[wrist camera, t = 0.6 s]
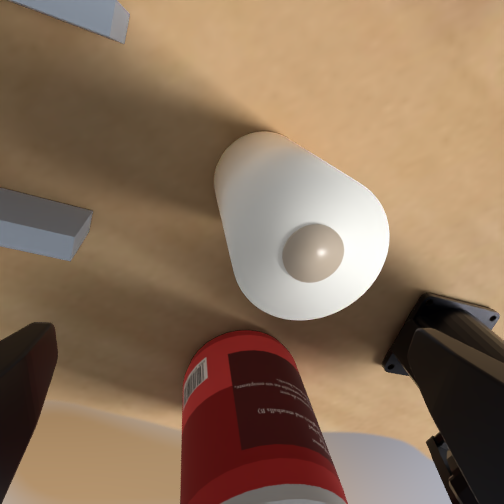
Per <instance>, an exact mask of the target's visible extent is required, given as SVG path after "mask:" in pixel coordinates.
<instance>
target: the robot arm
mask: <svg viewBox="0 0 504 504" xmlns="http://www.w3.org/2000/svg"><path fill="white" fill-rule="evenodd" d="M428 300H429V301H428ZM427 301H428V302H427ZM499 317H500V315H499V313H497V312H496V311H495V310H493V309H490V308H486V307H482V306H478V305H474V304H470V303H466V302H462V301H458V300H454V299H450V298H446V297H442V296H438V295H434V294H431V293H426V294H423V295H422V296H421V297H420V299H419V300H418V302H417V304H416V305H415V307H414V309H413V311H412V312H411V314H410V316H409V317H408V319H407V321H406V323H405V324H404V326H403V328H402V329H401V331H400V333H399V335H398V336H397V338H396V340H395V341H394V343H393V345H392V347H391V348H390V350H389V352H388V353H387V355H386V357H385V359H384V360H383V362H382V367H383V368H384V370H385V371H386V372H389V373H395V374H401V375H406V376H410V377H411V378H412V380H413V381H414V382H415V384H416V385H417V387H418V388H419V389H420V391H421V394H422V396H423V398H424V401H425V403H426V405H427V408H428V410H429V412H430V414H431V416H432V418H433V420H434V422H435V424H436V426H437V428H438V429H439V431H440V432H439V433H438V434H437V435H435V436H432V437H431V438H430V439H428V440H427V441H426V444H427V446H428V448H429V450H430V453H431V456H432V459H433V461H434V463H435V466H436V468H437V470H438V472H439V475H440V477H441V479H442V481H443V484H444V486H445V488H446V491H447V493H448V495H449V497H450V500H451V502H452V504H504V340H502V339H501V338H500V337H499V336H498V335H497V334H495V333H494V332H493V331H492V328H493V327H494V325H495V324H496V322H497V321H498V319H499ZM57 358H58V349H57V341H56V332H55V327H54V325H53V324H52V323H47V322H34V323H31V324H29V325H28V326H26V327H24V328H22V329H21V330H19V331H17V332H15V333H13V334H12V335H10V336H8V337H6V338H5V339H3V340H1V341H0V504H2V502H3V499H4V497H5V495H6V493H7V490H8V488H9V486H10V484H11V482H12V479H13V477H14V475H15V473H16V470H17V468H18V466H19V464H20V461H21V459H22V457H23V455H24V453H25V450H26V448H27V446H28V444H29V441H30V439H31V437H32V435H33V432H34V430H35V428H36V425H37V422H38V419H39V417H40V414H41V410H42V407H43V404H44V401H45V398H46V395H47V391H48V388H49V385H50V382H51V379H52V376H53V372H54V369H55V366H56V363H57ZM390 364H391V365H390Z"/></svg>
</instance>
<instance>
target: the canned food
mask: <svg viewBox="0 0 504 504" xmlns="http://www.w3.org/2000/svg"><path fill="white" fill-rule="evenodd" d="M181 453H182V454H181V496H180V504H348V503H347V500H346V497H345V494H344V491H343V488H342V486H341V483H340V480H339V477H338V475H337V472H336V469H335V467H334V464H333V462H332V459H331V456H330V454H329V451H328V449H327V446H326V443H325V440H324V438H323V435H322V432H321V430H320V427H319V425H318V422H317V419H316V417H315V414H314V411H313V409H312V406H311V403H310V401H309V398H308V396H307V393H306V390H305V388H304V385H303V382H302V380H301V377H300V374H299V372H298V369H297V367H296V364H295V361H294V359H293V357H292V355H291V354H290V353H289V351H288V350H287V349H286V348H285V347H284V346H283V345H282V344H281V343H280V342H279V341H278V340H277V339H275V338H273V337H271V336H270V335H268V334H265V333H262V332H258V331H250V330H242V331H234V332H229V333H225V334H223V335H220V336H218V337H216V338H214V339H212V340H211V341H209V342H207V343H206V344H205V345H204V346H203V347H202V348H200V349H199V350H198V352H197V353H196V354H195V356H194V357H193V358H192V360H191V362H190V365H189V367H188V369H187V371H186V374H185V377H184V382H183V407H182V451H181Z"/></svg>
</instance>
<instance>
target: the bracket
mask: <svg viewBox="0 0 504 504" xmlns="http://www.w3.org/2000/svg"><path fill="white" fill-rule="evenodd" d="M8 1H10V2H13V3H16V4H18V5H21V6H24V7H26V8H29V9H32V10H34V11H37V12H40V13H42V14H45V15H48V16H50V17H53V18H56V19H58V20H61V21H64V22H66V23H69V24H72V25H74V26H77V27H80V28H82V29H85V30H88V31H90V32H93V33H96V34H98V35H101V36H104V37H106V38H109V39H112V40H114V41H117V42H120V43H122V44H124V43H125V38H126V33H127V27H128V22H129V17H130V14H129V13H128V11H127V10H126V9H125V8H124V7H123V6H122V5H121V4H120V3H119V2H118V1H117V0H8ZM92 214H93V211H91V210H87V209H83V208H79V207H75V206H71V205H67V204H63V203H60V202H56V201H52V200H48V199H44V198H40V197H36V196H32V195H28V194H24V193H20V192H16V191H12V190H8V189H4V188H0V246H1V247H6V248H11V249H16V250H20V251H25V252H30V253H34V254H39V255H44V256H48V257H53V258H58V259H62V260H67V261H71V260H72V258H73V257H74V255H75V253H76V252H77V250H78V249H79V247H80V245H81V244H82V242H83V241H84V239H85V238H86V236H87V234H88V233H89V230H90V224H91V219H92Z"/></svg>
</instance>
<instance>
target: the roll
mask: <svg viewBox="0 0 504 504" xmlns="http://www.w3.org/2000/svg"><path fill="white" fill-rule="evenodd" d="M214 189H215V194H216V199H217V203H218V207H219V211H220V216H221V220H222V224H223V228H224V233H225V237H226V241H227V246H228V250H229V254H230V258H231V263H232V267H233V271H234V275H235V278H236V281H237V283H238V285H239V287H240V289H241V291H242V292H243V293H244V295H245V296H246V297H247V298H248V299H249V301H250V302H251V303H252V304H254V305H255V306H256V307H258V308H259V309H260V310H262V311H264V312H266V313H268V314H270V315H272V316H275V317H279V318H282V319H288V320H312V319H317V318H322V317H325V316H328V315H331V314H334V313H336V312H338V311H340V310H342V309H344V308H346V307H347V306H349V305H350V304H352V303H353V302H355V301H356V300H357V299H358V298H359V297H361V296H362V295H363V294H364V293H365V292H366V291H367V290H368V289H369V287H370V286H371V285H372V284H373V282H374V281H375V280H376V278H377V276H378V275H379V273H380V271H381V269H382V267H383V265H384V262H385V259H386V256H387V253H388V247H389V225H388V221H387V217H386V214H385V212H384V209H383V207H382V205H381V204H380V202H379V200H378V199H377V198H376V197H375V195H374V194H373V193H372V192H371V191H370V190H369V189H367V188H366V187H365V186H364V185H362V184H361V183H359V182H357V181H356V180H354V179H353V178H351V177H349V176H348V175H346V174H345V173H343V172H341V171H340V170H338V169H337V168H335V167H333V166H332V165H330V164H329V163H327V162H325V161H324V160H322V159H321V158H319V157H317V156H316V155H314V154H313V153H311V152H310V151H308V150H306V149H305V148H303V147H302V146H300V145H298V144H297V143H295V142H294V141H292V140H290V139H289V138H287V137H285V136H283V135H281V134H278V133H274V132H268V131H260V132H254V133H250V134H247V135H245V136H242V137H240V138H239V139H237V140H236V141H234V142H233V143H232V144H231V145H230V146H229V147H228V148H227V149H226V150H225V151H224V153H223V154H222V155H221V157H220V159H219V161H218V163H217V166H216V170H215V174H214Z"/></svg>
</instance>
